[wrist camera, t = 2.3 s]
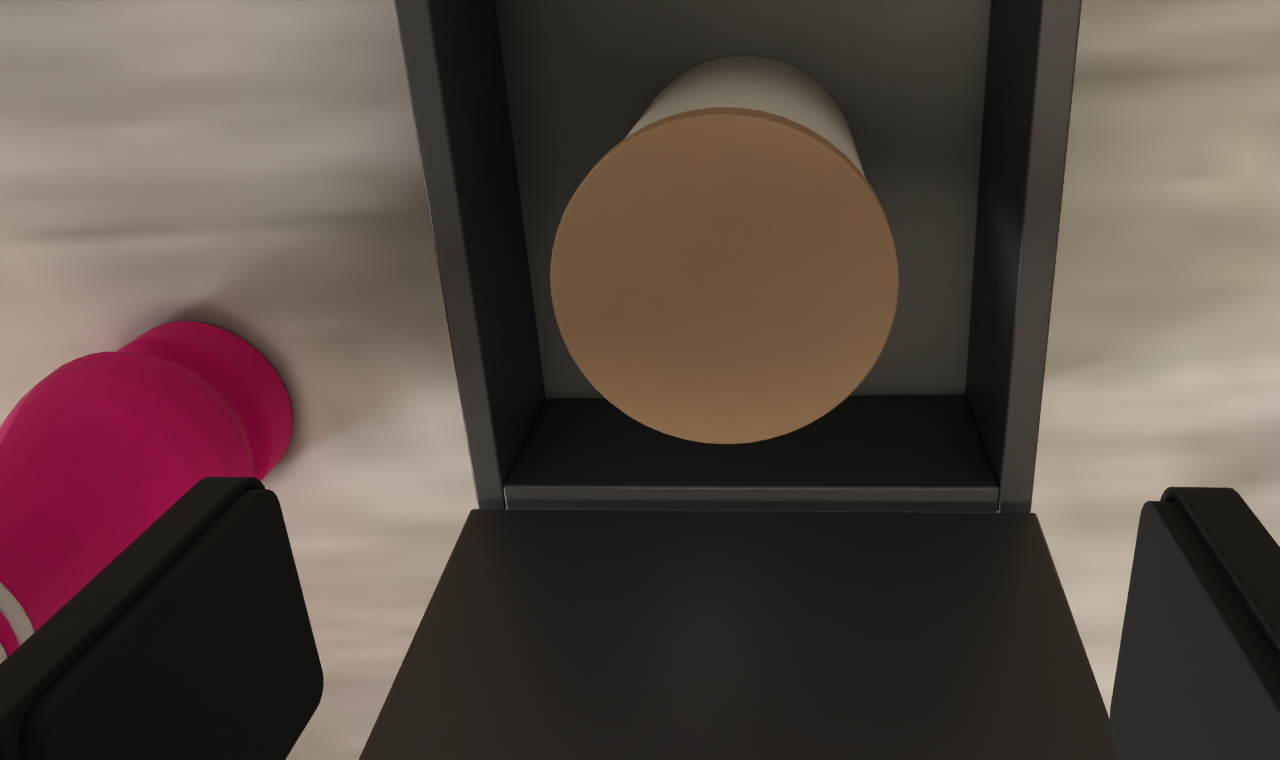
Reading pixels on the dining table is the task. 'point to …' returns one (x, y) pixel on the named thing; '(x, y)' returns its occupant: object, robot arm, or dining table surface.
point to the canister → (727, 259)
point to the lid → (745, 641)
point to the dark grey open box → (893, 166)
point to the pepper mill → (123, 456)
